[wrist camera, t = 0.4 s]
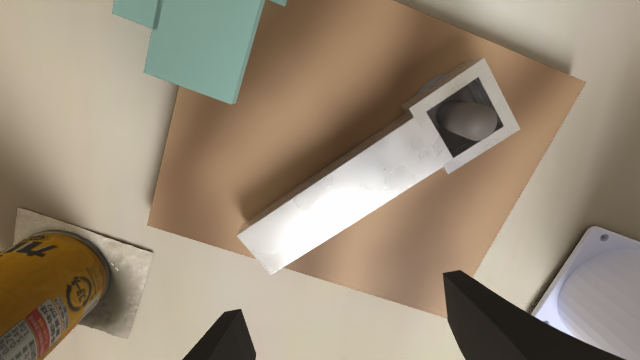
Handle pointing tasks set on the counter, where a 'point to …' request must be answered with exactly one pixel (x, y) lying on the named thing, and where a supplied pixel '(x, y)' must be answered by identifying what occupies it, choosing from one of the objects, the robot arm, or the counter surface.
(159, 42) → the keeper
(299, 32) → the board
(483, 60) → the link
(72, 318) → the condiment
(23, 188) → the counter surface
